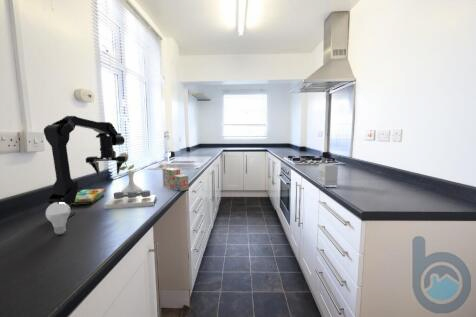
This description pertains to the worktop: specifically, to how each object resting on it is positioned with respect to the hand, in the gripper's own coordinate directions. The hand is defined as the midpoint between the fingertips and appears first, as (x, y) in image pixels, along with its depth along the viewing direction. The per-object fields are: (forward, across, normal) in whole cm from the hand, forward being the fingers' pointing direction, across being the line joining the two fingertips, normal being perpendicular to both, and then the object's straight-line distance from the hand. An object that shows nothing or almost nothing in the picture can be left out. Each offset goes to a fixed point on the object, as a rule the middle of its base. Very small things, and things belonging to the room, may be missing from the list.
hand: (108, 174), depth 120 cm
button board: (+14, -13, +11) cm, 22 cm away
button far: (+10, -20, +10) cm, 24 cm away
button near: (+10, -7, +9) cm, 15 cm away
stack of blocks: (+14, -34, -18) cm, 41 cm away
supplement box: (+14, -133, +7) cm, 134 cm away
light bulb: (+14, +5, +42) cm, 45 cm away
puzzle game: (+14, +12, -1) cm, 18 cm away
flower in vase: (+14, -9, -8) cm, 18 cm away
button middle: (+10, -13, +10) cm, 19 cm away
